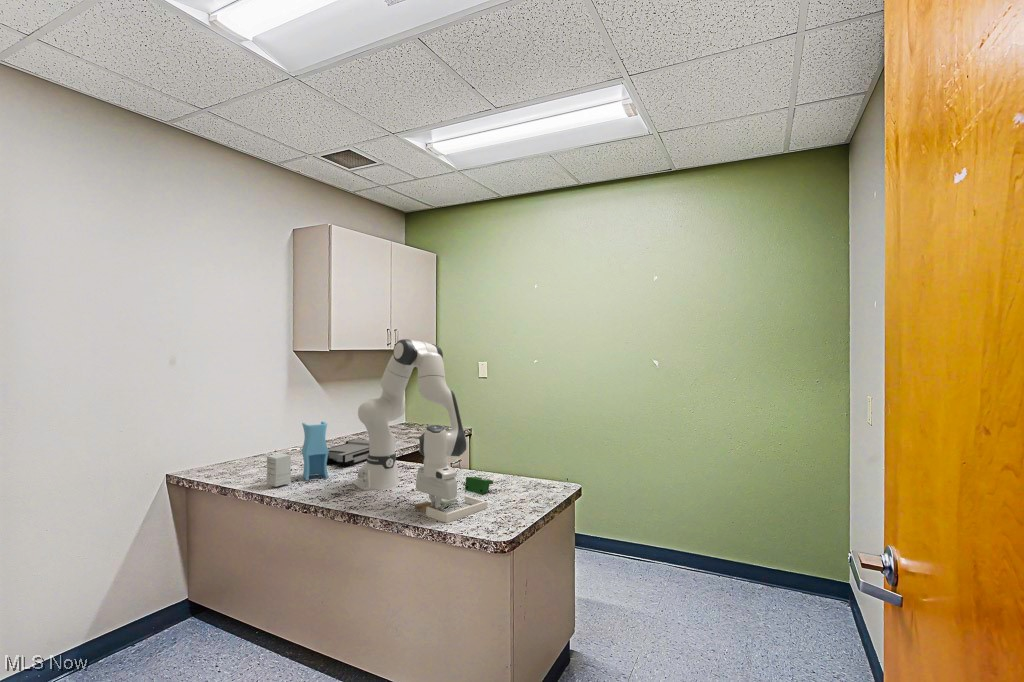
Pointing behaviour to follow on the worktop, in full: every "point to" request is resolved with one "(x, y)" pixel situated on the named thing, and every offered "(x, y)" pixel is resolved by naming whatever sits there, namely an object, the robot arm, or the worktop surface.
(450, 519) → the white u-shaped frame
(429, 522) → the worktop surface
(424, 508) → the walnut tile
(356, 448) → the game console
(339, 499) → the worktop surface
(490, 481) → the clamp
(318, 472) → the blue toy chair
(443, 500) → the sage tile
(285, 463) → the supplement box
